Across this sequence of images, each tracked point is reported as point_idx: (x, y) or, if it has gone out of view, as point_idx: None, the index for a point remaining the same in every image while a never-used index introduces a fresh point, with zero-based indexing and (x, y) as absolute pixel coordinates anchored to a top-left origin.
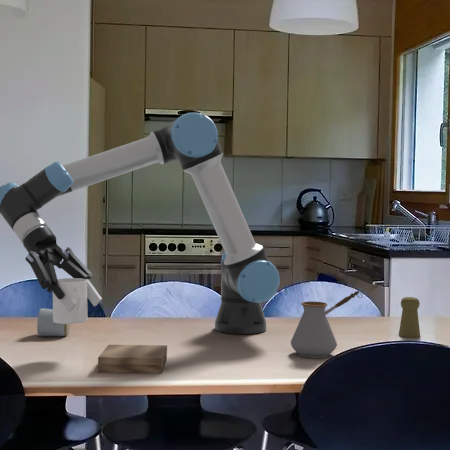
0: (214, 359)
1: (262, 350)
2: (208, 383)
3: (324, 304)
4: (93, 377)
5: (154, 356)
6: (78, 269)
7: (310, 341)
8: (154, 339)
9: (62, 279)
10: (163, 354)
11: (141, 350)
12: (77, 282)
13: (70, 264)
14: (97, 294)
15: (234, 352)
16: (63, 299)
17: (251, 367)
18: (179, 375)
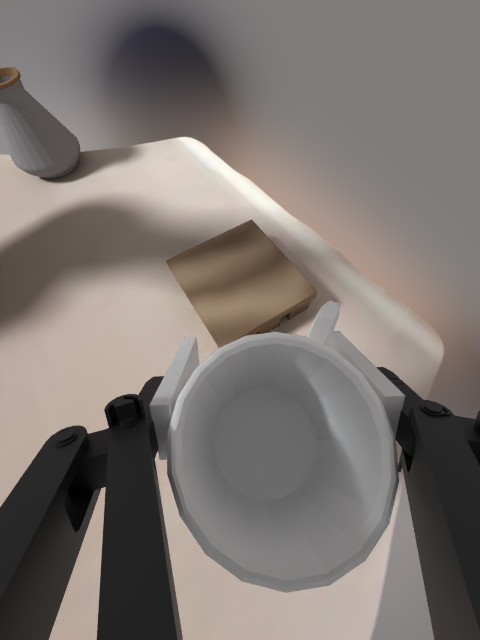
0: (136, 231)
1: (52, 212)
2: (252, 182)
3: (4, 68)
4: (333, 295)
5: (249, 231)
6: (129, 490)
7: (70, 135)
8: (7, 405)
9: (258, 561)
10: (225, 233)
11: (226, 269)
12: (305, 337)
13: (162, 583)
14: (187, 347)
15: (79, 232)
16: None
17: (156, 183)
18: (242, 219)
